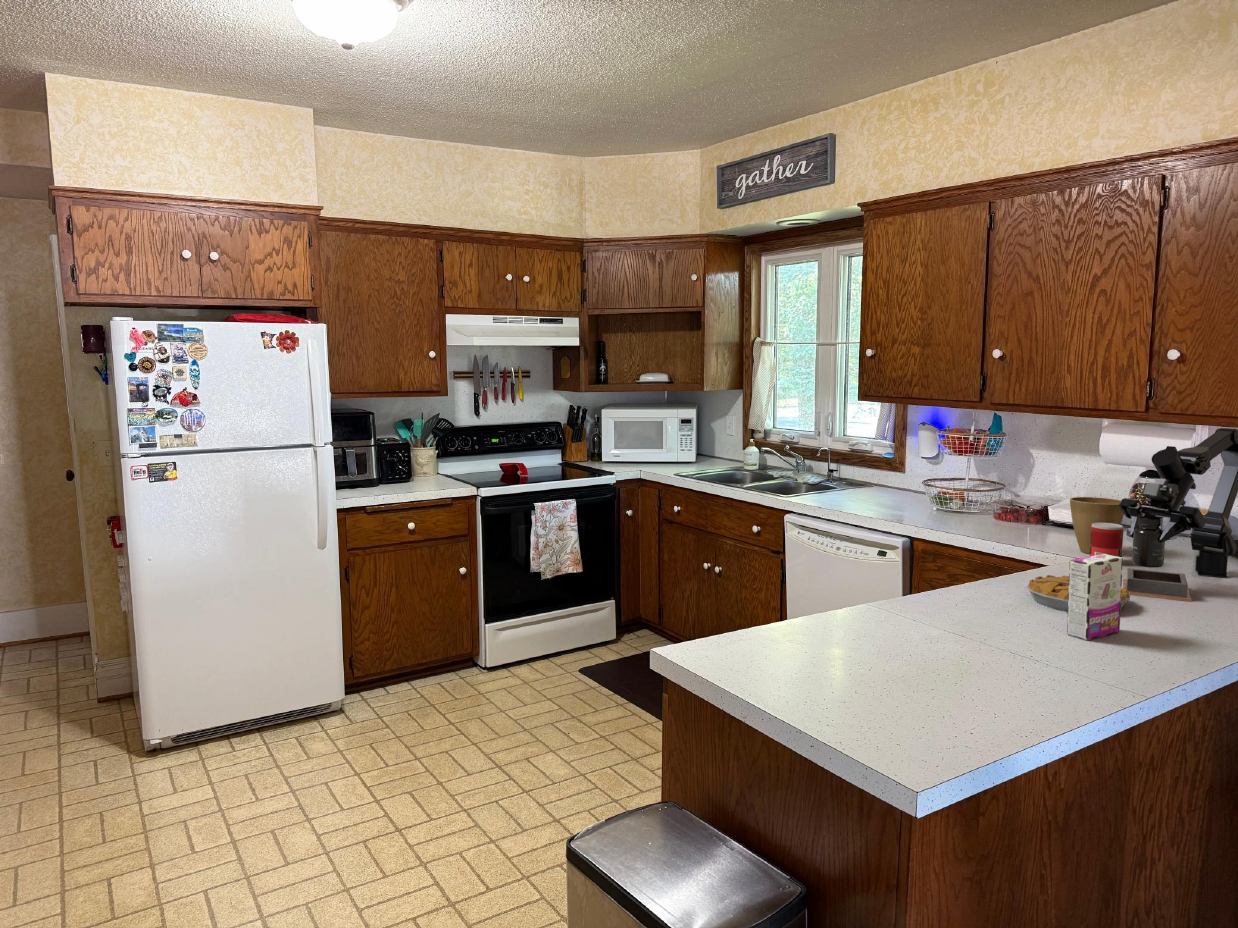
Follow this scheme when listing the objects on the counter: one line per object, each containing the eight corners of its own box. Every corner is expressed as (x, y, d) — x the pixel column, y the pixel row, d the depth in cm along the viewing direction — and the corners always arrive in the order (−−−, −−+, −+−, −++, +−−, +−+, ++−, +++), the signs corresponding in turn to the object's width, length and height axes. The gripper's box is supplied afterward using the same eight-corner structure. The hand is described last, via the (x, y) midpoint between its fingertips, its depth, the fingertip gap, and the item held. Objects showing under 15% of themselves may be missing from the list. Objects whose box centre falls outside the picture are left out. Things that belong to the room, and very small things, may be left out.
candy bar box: (1097, 626, 185) (1102, 552, 183) (1120, 633, 180) (1125, 557, 178) (1064, 634, 179) (1068, 558, 178) (1086, 641, 175) (1091, 563, 173)
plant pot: (1127, 559, 247) (1130, 505, 245) (1070, 555, 253) (1072, 502, 251) (1118, 548, 261) (1121, 497, 259) (1064, 545, 266) (1067, 495, 265)
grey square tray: (1187, 588, 215) (1188, 573, 215) (1190, 601, 203) (1192, 586, 203) (1123, 581, 222) (1124, 567, 222) (1123, 593, 210) (1124, 578, 210)
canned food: (1125, 566, 239) (1128, 527, 237) (1094, 565, 240) (1096, 527, 239) (1115, 560, 246) (1117, 522, 245) (1085, 559, 248) (1087, 522, 247)
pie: (1013, 604, 203) (1014, 584, 202) (1042, 586, 218) (1043, 567, 218) (1116, 622, 188) (1118, 600, 187) (1139, 602, 204) (1141, 581, 203)
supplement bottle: (1125, 563, 215) (1127, 516, 214) (1144, 560, 218) (1146, 514, 217) (1151, 568, 209) (1153, 520, 208) (1170, 565, 211) (1172, 518, 210)
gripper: (1124, 467, 221) (1096, 513, 217) (1202, 475, 204) (1173, 525, 200) (1140, 494, 225) (1113, 540, 221) (1217, 504, 209) (1189, 553, 205)
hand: (1145, 539), depth 212 cm, fingers closed on supplement bottle, 7 cm apart
